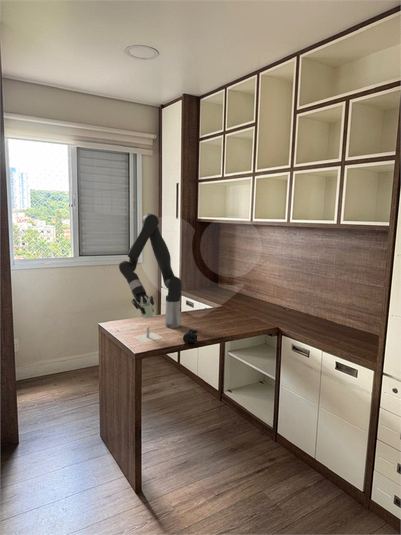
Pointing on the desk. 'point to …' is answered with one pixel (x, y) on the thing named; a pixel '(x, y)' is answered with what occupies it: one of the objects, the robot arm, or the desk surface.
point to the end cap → (190, 337)
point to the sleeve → (147, 311)
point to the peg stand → (147, 336)
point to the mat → (127, 328)
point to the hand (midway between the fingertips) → (148, 313)
